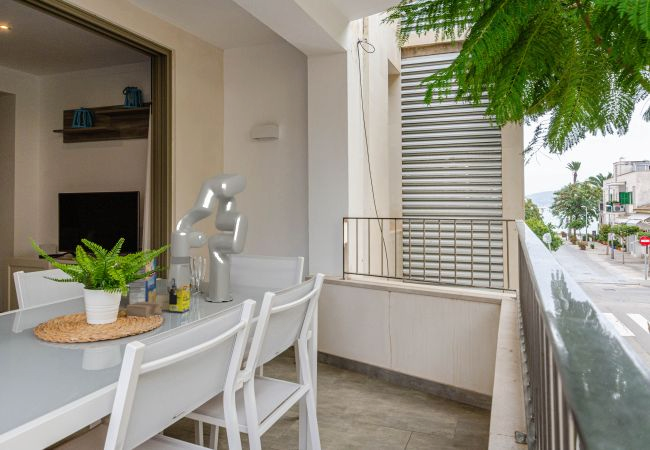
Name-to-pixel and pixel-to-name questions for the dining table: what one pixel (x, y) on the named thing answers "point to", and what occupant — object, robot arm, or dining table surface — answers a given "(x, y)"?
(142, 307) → the walnut block
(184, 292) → the supplement box
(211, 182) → the robot arm
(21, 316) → the dining table surface
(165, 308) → the oak cube
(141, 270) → the beverage box
